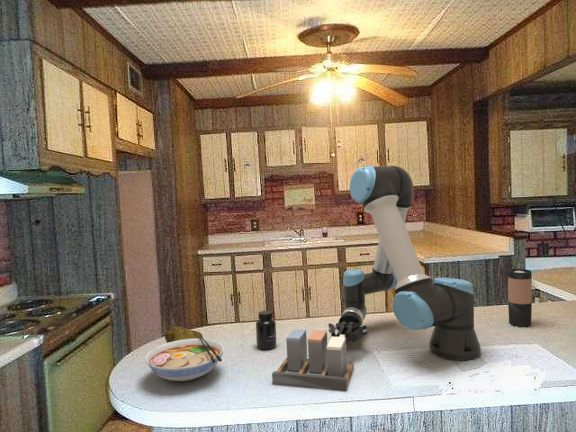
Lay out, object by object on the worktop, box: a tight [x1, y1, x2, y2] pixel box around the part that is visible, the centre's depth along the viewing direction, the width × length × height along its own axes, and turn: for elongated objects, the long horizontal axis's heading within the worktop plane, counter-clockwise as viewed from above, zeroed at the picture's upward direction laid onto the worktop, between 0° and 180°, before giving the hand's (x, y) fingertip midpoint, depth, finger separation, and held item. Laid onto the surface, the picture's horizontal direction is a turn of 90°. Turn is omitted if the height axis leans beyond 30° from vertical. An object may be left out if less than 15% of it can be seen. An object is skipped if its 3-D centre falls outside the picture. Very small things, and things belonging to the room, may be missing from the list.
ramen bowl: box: [144, 334, 225, 382], centre depth 127 cm, size 25×23×8 cm
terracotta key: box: [307, 329, 328, 374], centre depth 128 cm, size 8×4×10 cm, turn 163°
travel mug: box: [507, 268, 533, 328], centre depth 158 cm, size 8×8×20 cm
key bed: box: [271, 357, 355, 392], centre depth 123 cm, size 14×20×3 cm
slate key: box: [285, 328, 308, 372], centre depth 130 cm, size 8×4×10 cm, turn 163°
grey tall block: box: [327, 336, 348, 377], centre depth 122 cm, size 8×4×10 cm, turn 163°
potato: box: [164, 326, 204, 343], centre depth 149 cm, size 8×13×8 cm, turn 107°
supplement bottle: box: [255, 310, 277, 351], centre depth 147 cm, size 7×7×12 cm
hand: (338, 346), depth 126 cm, fingers closed
